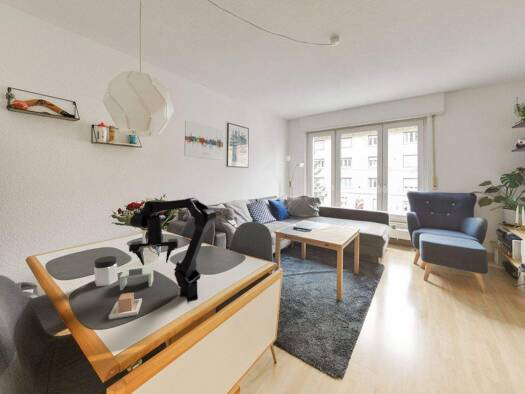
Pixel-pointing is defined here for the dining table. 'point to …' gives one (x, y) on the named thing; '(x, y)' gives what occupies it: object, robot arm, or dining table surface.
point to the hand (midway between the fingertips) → (155, 263)
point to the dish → (116, 314)
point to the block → (126, 302)
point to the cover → (136, 275)
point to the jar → (105, 270)
